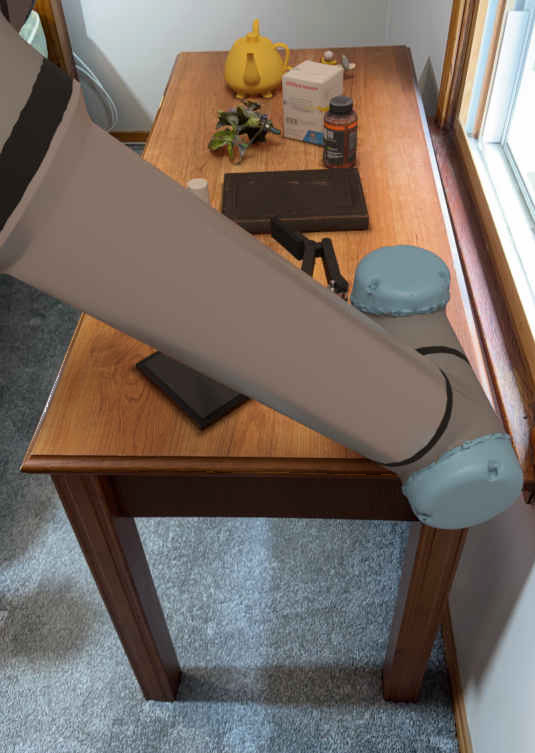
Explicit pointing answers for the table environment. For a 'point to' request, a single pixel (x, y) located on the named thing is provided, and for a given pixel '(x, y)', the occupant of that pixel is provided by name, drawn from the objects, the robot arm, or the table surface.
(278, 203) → the dark brown flat block
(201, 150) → the table surface
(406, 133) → the table surface
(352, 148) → the supplement bottle
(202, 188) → the white cylindrical rod
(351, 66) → the toy airplane
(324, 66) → the ink box
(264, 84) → the teapot
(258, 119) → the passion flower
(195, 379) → the tablet
